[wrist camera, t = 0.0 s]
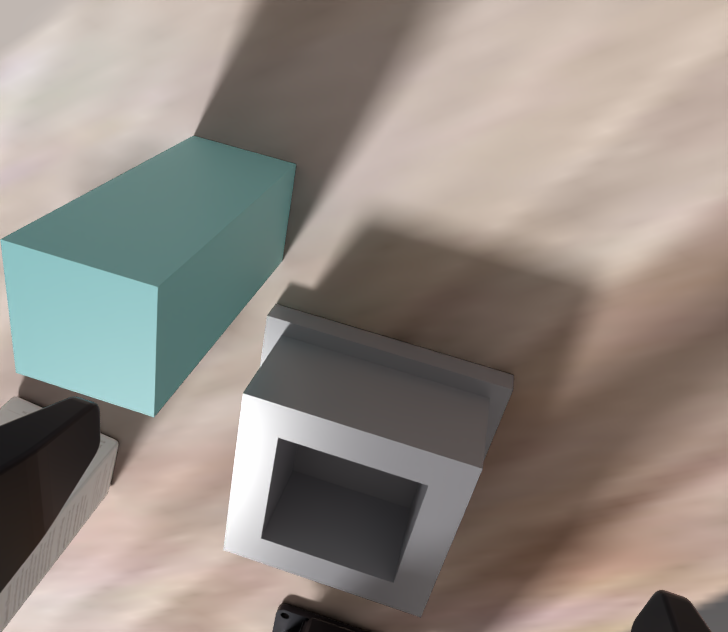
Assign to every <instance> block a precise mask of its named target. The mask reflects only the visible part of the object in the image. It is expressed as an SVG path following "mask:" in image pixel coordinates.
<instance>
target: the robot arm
mask: <svg viewBox="0 0 728 632" xmlns="http://www.w3.org/2000/svg"><path fill="white" fill-rule="evenodd" d="M99 445H100V409H99V406H98V405H97V404H96V403H95V402H91V401H88V400H85V399H82V398H79V397H70V398H67V399H64V400H62V401H59V402H57V403H55V404H52V405H50V406H47V407H45V408H42V409H40V410H37V411H35V412H32V413H30V414H27V415H25V416H22V417H20V418H17V419H15V420H12V421H10V422H7V423H5V424H2V425H0V593H1V592H2V591H3V589H4V588H5V587H6V585H7V584H8V583H9V582H10V580H11V579H12V578H13V576H14V575H15V574H16V573H17V571H18V570H19V569H20V567H21V566H22V565H23V564H24V562H25V561H26V560H27V558H28V557H29V556H30V555H31V553H32V552H33V551H34V549H35V548H36V547H37V546H38V544H39V543H40V541H41V540H42V539H43V537H44V536H45V535H46V533H47V532H48V530H49V529H50V527H51V526H52V524H53V523H54V521H55V519H56V518H57V516H58V515H59V513H60V511H61V510H62V508H63V506H64V505H65V503H66V502H67V500H68V498H69V497H70V495H71V494H72V492H73V490H74V489H75V487H76V486H77V484H78V482H79V481H80V479H81V478H82V476H83V474H84V473H85V471H86V470H87V468H88V466H89V465H90V463H91V461H92V460H93V458H94V457H95V455H96V453H97V451H98V448H99ZM272 632H367V631H364V630H361V629H358V628H355V627H352V626H350V625H347V624H344V623H341V622H338V621H335V620H332V619H329V618H326V617H324V616H321V615H318V614H315V613H312V612H309V611H306V610H303V609H300V608H298V607H295V606H292V605H289V604H281V605H280V606H279V607H278V610H277V613H276V617H275V622H274V627H273V631H272ZM631 632H711V630H710V629H709V627H708V626H707V624H706V623H705V621H704V620H703V619H702V617H701V616H700V614H699V613H698V611H697V610H696V608H695V607H694V606H693V604H692V603H691V602H690V601H689V600H688V599H687V598H685V597H683V596H680V595H677V594H674V593H671V592H668V591H665V590H659V591H657V592H655V593H654V594H653V596H652V597H651V598H650V600H649V601H648V602H647V604H646V605H645V607H644V608H643V609H642V611H641V612H640V613H639V615H638V616H637V617H636V619H635V621H634V623H633V625H632V629H631Z"/></svg>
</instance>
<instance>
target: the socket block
mask: <svg viewBox="0 0 728 632" xmlns="http://www.w3.org/2000/svg"><path fill="white" fill-rule="evenodd" d="M513 382H514V375H512V374H508V373H505V372H502V371H498V370H495V369H492V368H488V367H485V366H482V365H478V364H475V363H472V362H468V361H465V360H462V359H458V358H455V357H452V356H448V355H445V354H442V353H438V352H435V351H432V350H428V349H425V348H422V347H418V346H415V345H412V344H408V343H405V342H402V341H398V340H395V339H392V338H388V337H385V336H382V335H378V334H375V333H372V332H368V331H365V330H362V329H358V328H355V327H352V326H348V325H345V324H341V323H338V322H335V321H331V320H328V319H325V318H321V317H318V316H315V315H311V314H308V313H305V312H301V311H298V310H295V309H291V308H288V307H285V306H281V305H278V304H275V306H274V307H273V308H272V310H271V311H270V312H269V314H268V315H267V320H266V327H265V335H264V342H263V349H262V356H261V363H260V368H259V370H258V371H257V373H256V374H255V376H254V377H253V379H252V380H251V382H250V383H249V385H248V386H247V388H246V389H245V391H244V392H243V396H242V405H241V413H240V421H239V429H238V437H237V445H236V453H235V461H234V469H233V477H232V485H231V493H230V501H229V509H228V517H227V525H226V533H225V541H224V549H223V550H225V551H227V552H230V553H233V554H236V555H239V556H242V557H245V558H248V559H251V560H254V561H257V562H260V563H263V564H266V565H268V566H271V567H274V568H277V569H280V570H283V571H286V572H289V573H292V574H295V575H298V576H301V577H304V578H307V579H310V580H312V581H315V582H318V583H321V584H324V585H327V586H330V587H333V588H336V589H339V590H342V591H345V592H348V593H351V594H353V595H356V596H359V597H362V598H365V599H368V600H371V601H374V602H377V603H380V604H383V605H386V606H389V607H392V608H395V609H397V610H400V611H403V612H406V613H409V614H412V615H415V616H418V617H421V616H422V613H423V611H424V609H425V606H426V604H427V601H428V599H429V597H430V594H431V592H432V589H433V587H434V585H435V582H436V580H437V577H438V575H439V573H440V570H441V568H442V565H443V563H444V561H445V558H446V556H447V553H448V551H449V549H450V546H451V544H452V541H453V539H454V536H455V534H456V532H457V529H458V527H459V524H460V522H461V520H462V517H463V515H464V512H465V510H466V508H467V505H468V503H469V500H470V498H471V496H472V493H473V491H474V488H475V486H476V484H477V481H478V479H479V476H480V474H481V472H482V469H483V462H484V459H485V457H486V454H487V452H488V449H489V447H490V445H491V442H492V440H493V437H494V435H495V432H496V430H497V428H498V425H499V423H500V420H501V418H502V416H503V413H504V411H505V408H506V406H507V403H508V401H509V399H510V396H511V394H512V391H513Z"/></svg>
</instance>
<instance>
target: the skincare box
mask: <svg viewBox="0 0 728 632" xmlns="http://www.w3.org/2000/svg"><path fill="white" fill-rule="evenodd" d="M40 409H42V407H40V406H37V405H35V404H33V403H30V402H28V401H26V400H24V399H21V398H19V397H16V396H15V397H13V398H11V399H10V400H9V401H8V402H7V403H6V404H4V405H3V406H2V407H1V408H0V425H2V424H5V423H7V422H10V421H12V420H15V419H17V418H20V417H22V416H25V415H27V414H30V413H32V412H35V411H37V410H40ZM117 450H118V441H116V440H115V439H112V438H110V437H108V436H106V435H103V434H101V433H100V445H99V448H98V451H97V453H96V455H95V457H94V458H93V460H92V461H91V463H90V465H89V466H88V468H87V470H86V471H85V473H84V474H83V476H82V478H81V479H80V481H79V482H78V484H77V486H76V487H75V489H74V490H73V492H72V494H71V495H70V497H69V498H68V500H67V502H66V503H65V505H64V506H63V508H62V510H61V511H60V513H59V515H58V516H57V518H56V519H55V521H54V523H53V524H52V526H51V527H50V529H49V530H48V532H47V533H46V535H45V536H44V537H43V539H42V540H41V541H40V543H39V544H38V546H37V547H36V548H35V549H34V551H33V552H32V553H31V555H30V556H29V557H28V558H27V560H26V561H25V562H24V564H23V565H22V566H21V567H20V569H19V570H18V571H17V573H16V574H15V575H14V576H13V578H12V579H11V580H10V582H9V583H8V584H7V585H6V587H5V588H4V589H3V591H2V592H1V593H0V632H2V631H3V630H4V628H5V627H6V626H7V624H8V623H9V622H10V620H11V619H12V618H13V617H14V615H15V614H16V613H17V611H18V610H19V609H20V607H21V606H22V605H23V603H24V602H25V601H26V600H27V598H28V597H29V596H30V594H31V593H32V592H33V590H34V589H35V588H36V586H37V585H38V584H39V583H40V581H41V580H42V579H43V577H44V576H45V575H46V573H47V572H48V571H49V570H50V568H51V567H52V566H53V564H54V563H55V562H56V560H57V559H58V558H59V557H60V555H61V554H62V553H63V551H64V550H65V549H66V547H67V546H68V545H69V543H70V542H71V541H72V540H73V538H74V537H75V536H76V534H77V533H78V532H79V530H80V529H81V528H82V526H83V525H84V524H85V522H86V521H87V520H88V519H89V517H90V516H91V514H92V513H93V512H94V511H95V509H96V508H97V507H98V505H99V504H100V503H101V501H102V500H103V499H104V498H105V496H106V495H107V494H108V490H109V487H110V483H111V479H112V474H113V470H114V465H115V461H116V455H117Z"/></svg>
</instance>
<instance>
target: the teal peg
mask: <svg viewBox="0 0 728 632" xmlns="http://www.w3.org/2000/svg"><path fill="white" fill-rule="evenodd" d="M295 170H296V164H294V163H291V162H287V161H283V160H280V159H276V158H273V157H269V156H265V155H262V154H258V153H255V152H251V151H247V150H244V149H240V148H236V147H233V146H229V145H226V144H222V143H218V142H215V141H211V140H208V139H204V138H200V137H197V136H192V137H190V138H188V139H186V140H184V141H183V142H181V143H179V144H177V145H175V146H173V147H171V148H170V149H168V150H166V151H164V152H162V153H160V154H158V155H157V156H155V157H153V158H151V159H149V160H147V161H145V162H144V163H142V164H140V165H138V166H136V167H134V168H132V169H130V170H129V171H127V172H125V173H123V174H121V175H119V176H117V177H116V178H114V179H112V180H110V181H108V182H106V183H104V184H103V185H101V186H99V187H97V188H95V189H93V190H91V191H90V192H88V193H86V194H84V195H82V196H80V197H78V198H77V199H75V200H73V201H71V202H69V203H67V204H65V205H64V206H62V207H60V208H58V209H56V210H54V211H52V212H51V213H49V214H47V215H45V216H43V217H41V218H39V219H37V220H36V221H34V222H32V223H30V224H28V225H26V226H24V227H23V228H21V229H19V230H17V231H15V232H13V233H11V234H10V235H8V236H6V237H4V238H2V239H0V240H1V248H2V257H3V265H4V274H5V283H6V291H7V300H8V308H9V317H10V325H11V334H12V342H13V351H14V360H15V368H16V373H19V374H22V375H25V376H28V377H31V378H34V379H37V380H40V381H43V382H46V383H49V384H53V385H56V386H59V387H62V388H65V389H68V390H71V391H74V392H77V393H80V394H83V395H87V396H90V397H93V398H96V399H99V400H102V401H105V402H108V403H111V404H114V405H117V406H120V407H124V408H127V409H130V410H133V411H136V412H139V413H142V414H145V415H148V416H151V417H155V416H156V414H157V413H158V412H159V411H160V409H161V408H162V407H163V406H164V405H165V403H166V402H167V401H168V400H169V398H170V397H171V396H172V395H173V394H174V392H175V391H176V390H177V389H178V387H179V386H180V385H181V384H182V383H183V381H184V380H185V379H186V378H187V377H188V375H189V374H190V373H191V372H192V370H193V369H194V368H195V367H196V366H197V364H198V363H199V362H200V361H201V359H202V358H203V357H204V356H205V355H206V353H207V352H208V351H209V350H210V348H211V347H212V346H213V345H214V344H215V342H216V341H217V340H218V339H219V337H220V336H221V335H222V334H223V333H224V331H225V330H226V329H227V328H228V326H229V325H230V324H231V323H232V322H233V320H234V319H235V318H236V317H237V316H238V314H239V313H240V312H241V311H242V309H243V308H244V307H245V306H246V305H247V303H248V302H249V301H250V300H251V298H252V297H253V296H254V295H255V294H256V292H257V291H258V290H259V289H260V287H261V286H262V285H263V284H264V283H265V281H266V280H267V279H268V278H269V276H270V275H271V274H272V273H273V272H274V270H275V269H276V268H277V267H278V265H279V264H280V263H281V262H282V259H283V253H284V246H285V239H286V232H287V225H288V218H289V211H290V205H291V198H292V191H293V184H294V177H295Z"/></svg>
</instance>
